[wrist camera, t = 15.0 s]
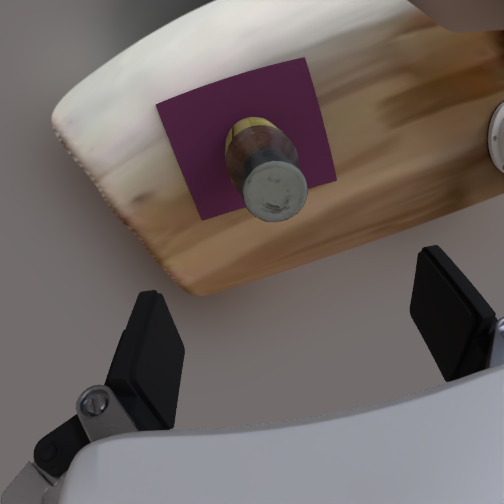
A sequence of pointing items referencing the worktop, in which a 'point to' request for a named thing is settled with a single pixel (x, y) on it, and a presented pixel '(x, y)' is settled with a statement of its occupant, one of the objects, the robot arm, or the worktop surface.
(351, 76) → the worktop surface
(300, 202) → the sauce bottle
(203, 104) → the cloth
